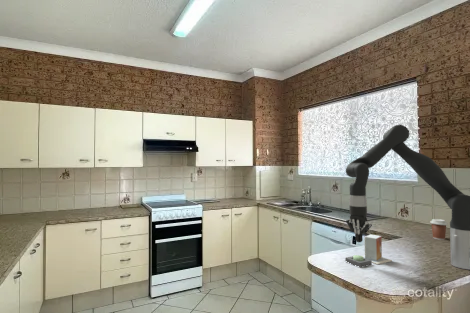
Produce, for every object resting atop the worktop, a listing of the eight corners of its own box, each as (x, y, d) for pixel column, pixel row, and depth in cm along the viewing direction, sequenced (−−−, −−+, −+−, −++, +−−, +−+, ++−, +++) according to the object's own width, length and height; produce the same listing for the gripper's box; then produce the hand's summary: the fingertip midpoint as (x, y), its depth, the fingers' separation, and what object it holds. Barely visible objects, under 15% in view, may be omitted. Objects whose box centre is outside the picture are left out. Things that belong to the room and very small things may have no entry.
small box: (376, 261, 130) (376, 238, 131) (364, 258, 134) (364, 236, 135) (382, 257, 136) (381, 236, 136) (370, 254, 140) (370, 234, 140)
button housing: (371, 264, 127) (371, 260, 127) (359, 267, 123) (359, 262, 123) (356, 259, 134) (356, 255, 134) (345, 261, 130) (345, 257, 130)
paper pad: (391, 261, 132) (391, 259, 132) (377, 264, 127) (377, 263, 127) (371, 254, 142) (371, 253, 142) (356, 257, 137) (356, 256, 137)
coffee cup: (451, 240, 171) (450, 221, 172) (434, 239, 173) (434, 220, 174) (443, 237, 180) (442, 218, 181) (427, 236, 182) (427, 218, 183)
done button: (365, 262, 128) (365, 257, 128) (359, 264, 126) (359, 258, 126) (357, 259, 132) (357, 254, 132) (351, 261, 130) (351, 255, 130)
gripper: (375, 206, 125) (377, 244, 124) (351, 203, 137) (352, 237, 136) (365, 207, 122) (366, 246, 121) (341, 203, 133) (341, 239, 133)
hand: (358, 241), depth 129 cm, fingers closed
